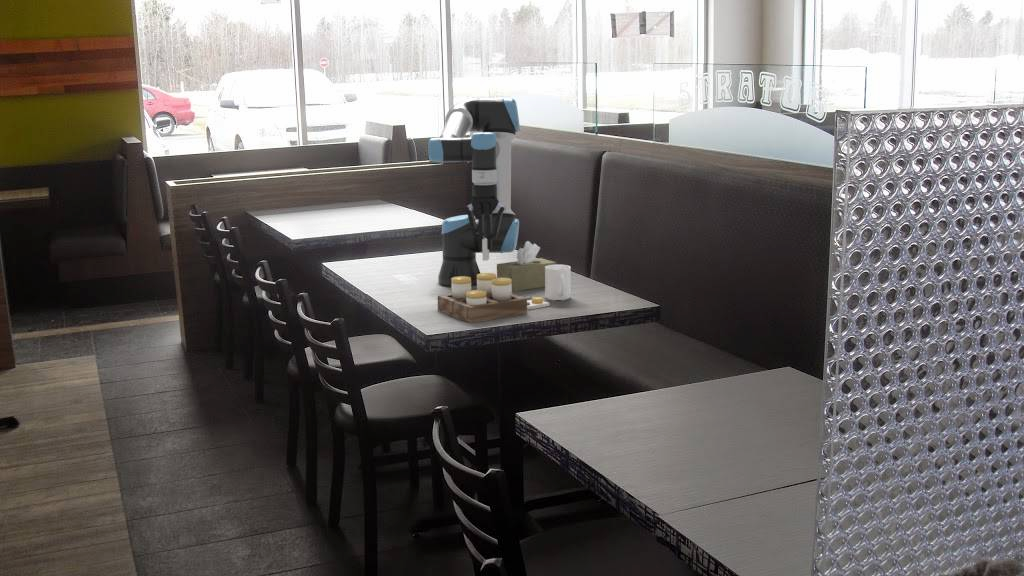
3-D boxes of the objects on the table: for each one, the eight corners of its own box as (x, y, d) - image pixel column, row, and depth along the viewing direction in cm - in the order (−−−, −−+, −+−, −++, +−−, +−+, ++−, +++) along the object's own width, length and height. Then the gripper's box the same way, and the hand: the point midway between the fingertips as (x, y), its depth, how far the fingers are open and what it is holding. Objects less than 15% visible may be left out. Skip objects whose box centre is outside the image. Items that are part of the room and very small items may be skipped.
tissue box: (511, 292, 329) (510, 245, 326) (496, 287, 337) (495, 241, 334) (557, 285, 339) (557, 239, 336) (541, 280, 347) (541, 236, 344)
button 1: (448, 296, 303) (447, 277, 302) (465, 294, 307) (464, 275, 305) (458, 300, 298) (457, 281, 297) (475, 297, 302) (474, 278, 300)
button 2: (463, 311, 297) (462, 291, 295) (480, 308, 300) (479, 289, 298) (473, 315, 292) (472, 295, 290) (490, 312, 295) (490, 292, 293)
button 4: (488, 298, 301) (488, 279, 299) (505, 295, 304) (504, 276, 303) (498, 302, 296) (498, 282, 294) (515, 299, 299) (515, 280, 298)
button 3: (473, 293, 308) (473, 274, 307) (490, 290, 311) (489, 272, 310) (483, 296, 303) (483, 277, 302) (499, 294, 306) (499, 275, 305)
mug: (576, 302, 312) (576, 270, 310) (550, 304, 311) (550, 272, 308) (567, 294, 324) (567, 263, 321) (542, 295, 322) (542, 265, 320)
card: (502, 303, 313) (501, 296, 312) (528, 299, 318) (528, 292, 317) (522, 310, 303) (522, 303, 302) (549, 306, 308) (549, 299, 308)
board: (437, 310, 305) (437, 295, 304) (492, 301, 316) (492, 287, 315) (470, 323, 289) (469, 307, 288) (527, 313, 299) (526, 298, 298)
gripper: (460, 184, 298) (462, 261, 302) (502, 185, 295) (503, 262, 300) (467, 182, 305) (468, 257, 310) (508, 182, 302) (509, 258, 307)
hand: (485, 259), depth 305 cm, fingers closed
